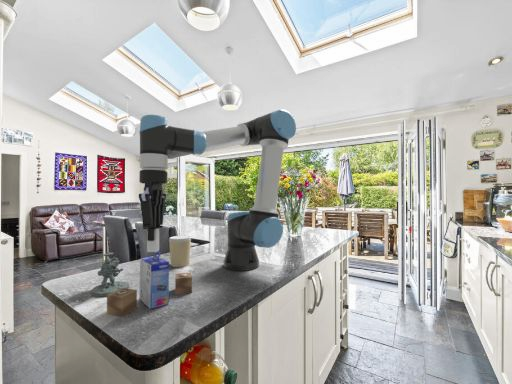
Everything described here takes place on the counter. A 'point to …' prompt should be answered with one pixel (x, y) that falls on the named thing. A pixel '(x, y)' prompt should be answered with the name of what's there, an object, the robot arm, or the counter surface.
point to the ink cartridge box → (154, 281)
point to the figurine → (110, 272)
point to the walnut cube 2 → (183, 283)
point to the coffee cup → (180, 250)
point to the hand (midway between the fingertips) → (153, 251)
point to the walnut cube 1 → (121, 302)
